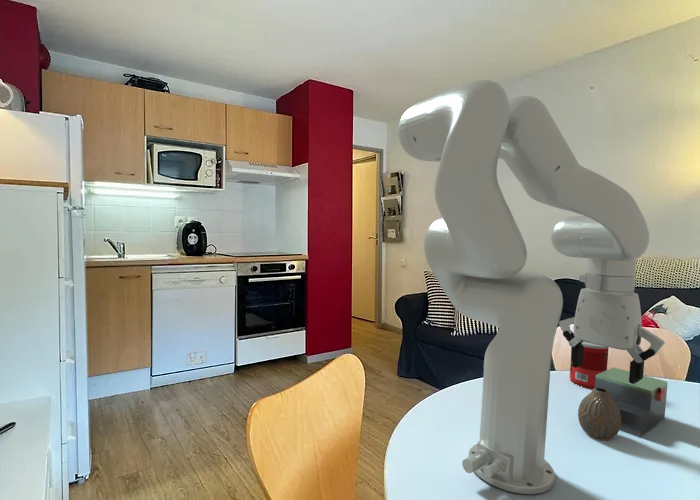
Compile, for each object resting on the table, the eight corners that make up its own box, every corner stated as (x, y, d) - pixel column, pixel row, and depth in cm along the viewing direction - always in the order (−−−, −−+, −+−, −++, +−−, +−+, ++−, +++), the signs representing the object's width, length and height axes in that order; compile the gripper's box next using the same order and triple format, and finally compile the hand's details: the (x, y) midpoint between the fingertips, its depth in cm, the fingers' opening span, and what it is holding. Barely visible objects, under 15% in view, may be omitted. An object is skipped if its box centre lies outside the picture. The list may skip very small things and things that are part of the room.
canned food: (611, 391, 97) (614, 347, 97) (575, 387, 99) (578, 344, 98) (598, 380, 105) (601, 339, 104) (565, 377, 106) (568, 336, 106)
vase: (579, 422, 80) (582, 379, 80) (620, 433, 76) (623, 389, 76) (574, 435, 74) (578, 390, 74) (619, 449, 70) (622, 400, 70)
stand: (645, 439, 74) (649, 397, 74) (583, 416, 83) (586, 378, 82) (669, 420, 82) (672, 383, 82) (611, 401, 91) (613, 367, 91)
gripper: (553, 279, 79) (549, 364, 80) (659, 292, 65) (652, 394, 66) (571, 277, 83) (566, 357, 84) (674, 288, 69) (667, 384, 70)
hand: (604, 373), depth 75 cm, fingers open, 9 cm apart
